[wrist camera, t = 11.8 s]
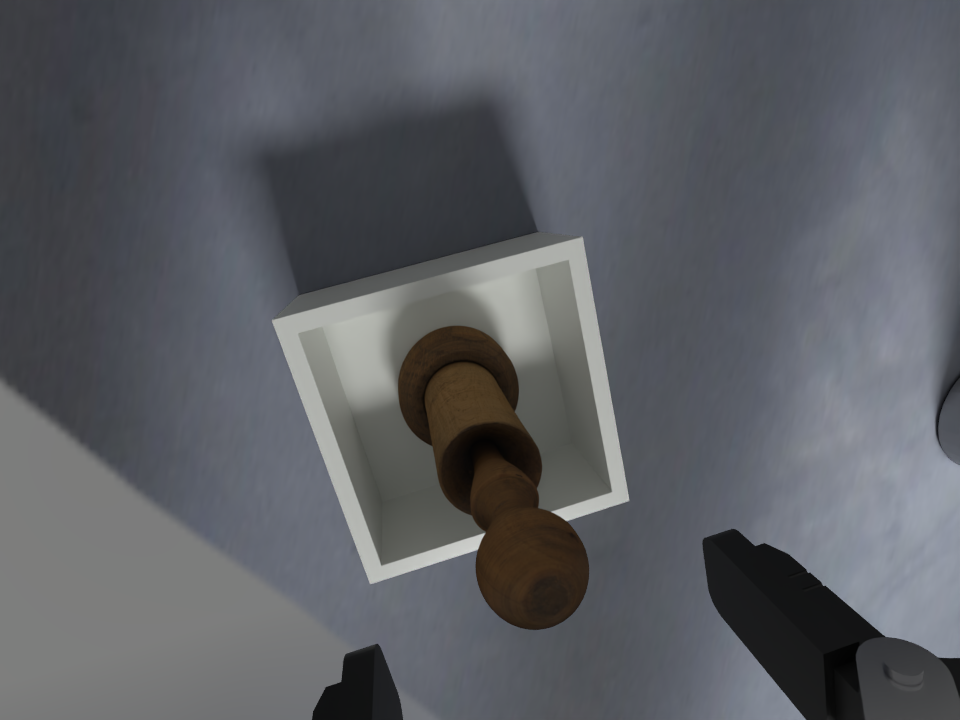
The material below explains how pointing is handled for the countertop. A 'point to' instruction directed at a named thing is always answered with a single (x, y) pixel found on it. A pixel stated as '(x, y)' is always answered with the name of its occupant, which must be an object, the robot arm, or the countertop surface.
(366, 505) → the box
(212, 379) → the countertop surface
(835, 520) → the countertop surface
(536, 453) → the mortar and pestle
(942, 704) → the robot arm
